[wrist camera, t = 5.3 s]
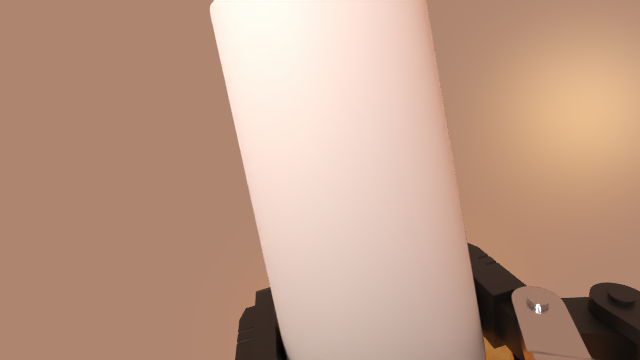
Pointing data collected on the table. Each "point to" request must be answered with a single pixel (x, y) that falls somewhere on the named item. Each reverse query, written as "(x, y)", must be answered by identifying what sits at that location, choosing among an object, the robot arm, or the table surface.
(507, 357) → the table surface
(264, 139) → the champagne flute
